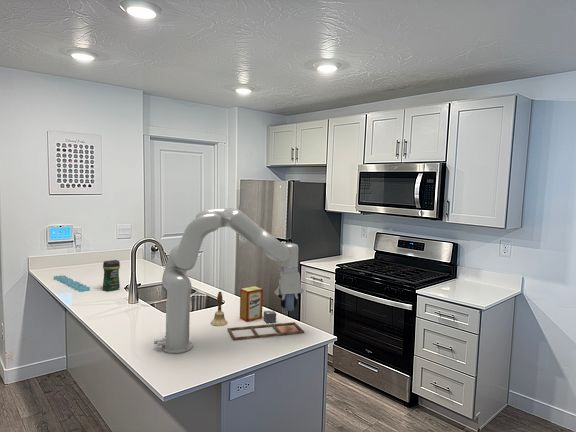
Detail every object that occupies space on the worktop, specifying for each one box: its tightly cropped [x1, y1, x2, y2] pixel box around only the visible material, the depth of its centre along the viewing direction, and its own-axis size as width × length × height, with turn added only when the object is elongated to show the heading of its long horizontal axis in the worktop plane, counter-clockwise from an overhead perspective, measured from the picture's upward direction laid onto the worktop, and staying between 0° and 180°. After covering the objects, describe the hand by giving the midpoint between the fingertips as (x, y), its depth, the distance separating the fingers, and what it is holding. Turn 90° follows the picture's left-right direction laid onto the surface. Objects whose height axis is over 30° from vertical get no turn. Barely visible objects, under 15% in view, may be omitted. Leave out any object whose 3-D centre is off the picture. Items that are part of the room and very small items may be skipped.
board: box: [227, 321, 305, 341], centre depth 190 cm, size 34×13×1 cm, turn 110°
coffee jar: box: [102, 259, 121, 292], centre depth 252 cm, size 10×8×19 cm
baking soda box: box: [239, 285, 264, 323], centre depth 208 cm, size 10×6×16 cm
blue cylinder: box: [283, 294, 295, 312], centre depth 193 cm, size 5×5×8 cm
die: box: [263, 309, 277, 325], centre depth 204 cm, size 5×5×5 cm
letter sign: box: [53, 275, 91, 293], centre depth 262 cm, size 45×6×2 cm, turn 48°
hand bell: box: [210, 291, 228, 327], centre depth 199 cm, size 8×8×16 cm
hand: (288, 306), depth 193 cm, fingers closed on blue cylinder, 5 cm apart
